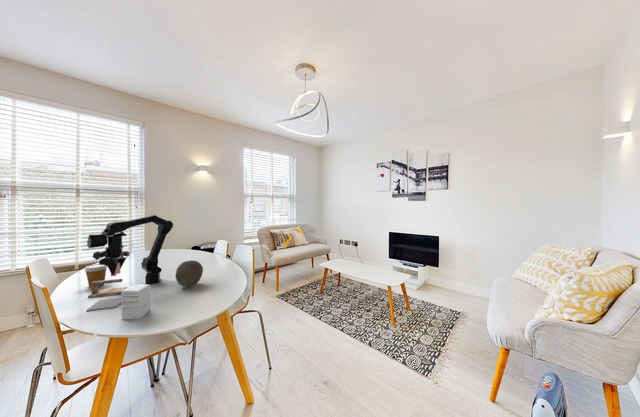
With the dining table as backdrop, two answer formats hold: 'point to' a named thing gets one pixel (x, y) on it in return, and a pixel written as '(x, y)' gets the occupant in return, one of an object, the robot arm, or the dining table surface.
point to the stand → (105, 292)
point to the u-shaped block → (117, 270)
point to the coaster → (105, 304)
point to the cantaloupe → (189, 273)
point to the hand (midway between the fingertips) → (115, 272)
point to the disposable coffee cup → (95, 273)
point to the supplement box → (135, 301)
